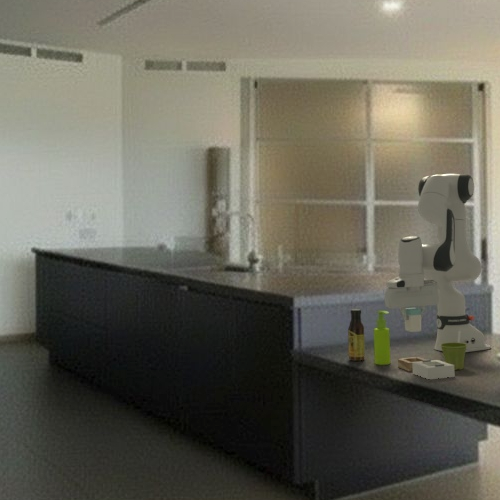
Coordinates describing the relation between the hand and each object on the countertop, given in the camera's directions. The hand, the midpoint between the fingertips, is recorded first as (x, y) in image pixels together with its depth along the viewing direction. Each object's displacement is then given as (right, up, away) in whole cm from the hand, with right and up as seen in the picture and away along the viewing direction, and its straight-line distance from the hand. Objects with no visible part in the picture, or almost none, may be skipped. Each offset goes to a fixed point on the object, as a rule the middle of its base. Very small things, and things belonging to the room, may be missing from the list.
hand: (412, 319), depth 274 cm
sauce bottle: (-17, -18, +20) cm, 32 cm away
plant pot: (+14, -18, -3) cm, 23 cm away
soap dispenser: (-9, -18, +11) cm, 23 cm away
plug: (0, -4, 0) cm, 4 cm away
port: (+4, -18, -13) cm, 23 cm away
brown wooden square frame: (+1, -18, +1) cm, 18 cm away
